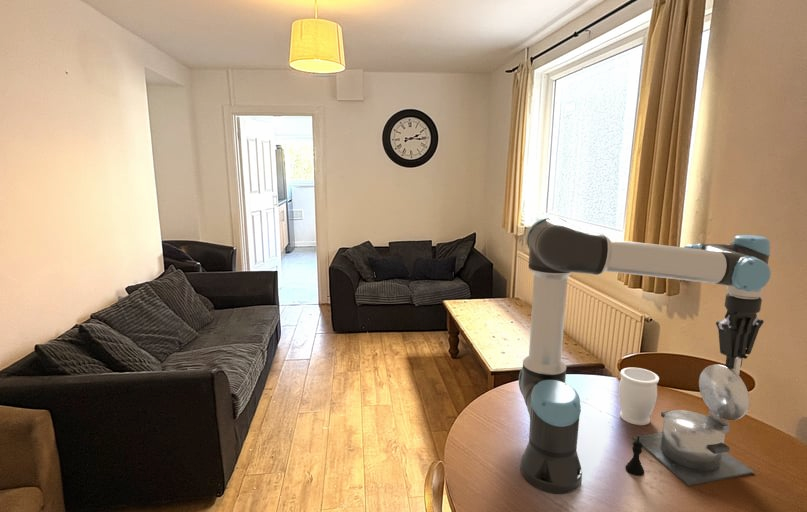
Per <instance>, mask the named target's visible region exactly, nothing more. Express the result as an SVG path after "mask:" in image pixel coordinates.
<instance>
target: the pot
mask: <svg viewBox="0 0 807 512" xmlns="http://www.w3.org/2000/svg"><path fill="white" fill-rule="evenodd" d="M660 416H661V417H662V418H663V425H662V431H660V432H655V433H649V434H641V435H636V436H632V440H634V441H635V440H637V437H638V436H639V441H640V442H641V443H642V445H643V447H642V448H643V449H644V450H646V452H647V453H649V454H650V455H651V456H652V457H653V458H655V459H656V460H657V461H658V462H659V463H661V464H662V465H663V466H664V467H665V468H667V469H668V470H669V471H670V472H671V473H673V474H674V475H675V476H676V477H677V478H679V479H680V480H681V481H682V482H683V483H684V484H686V485H687V486H688V487H690V486H695V485H701V484H705V483H711V482H712V483H713V482H716V481H721V480H727V479H731V478H737V477H742V476H748V475H752V474H755V471H754V470H753V469H751V468H749V467H748V466H747V465H746V464H744V463H742V462H741V461H740V460H738V459H737V458H735V457H734V456H733V455H731V454H730V453H729V452H730V447H729V446H728V445H726V444H725V439H726V434H729V433H730V428H731V425H730V426H726V425H725V424H723V423H722V422H720V421H718V420H717V419H715V418H714V417H712V416H710V415H708V416H707V415H705V414H702V413H699V412H695V411H692V410H685V409H674V410H666V411H661V413H660Z"/></svg>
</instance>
